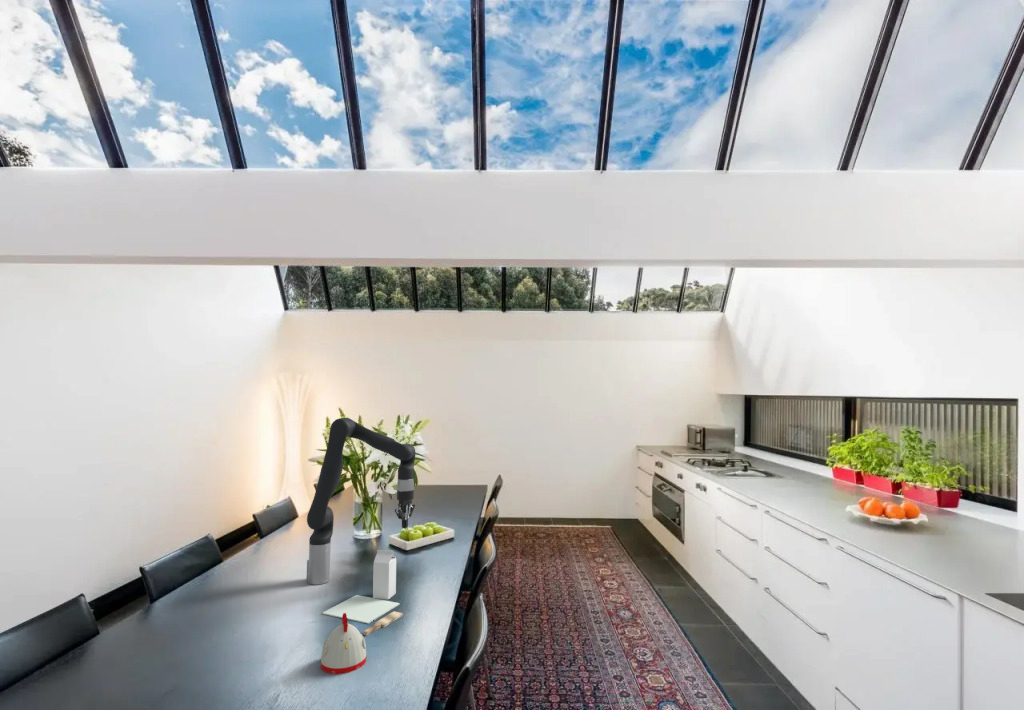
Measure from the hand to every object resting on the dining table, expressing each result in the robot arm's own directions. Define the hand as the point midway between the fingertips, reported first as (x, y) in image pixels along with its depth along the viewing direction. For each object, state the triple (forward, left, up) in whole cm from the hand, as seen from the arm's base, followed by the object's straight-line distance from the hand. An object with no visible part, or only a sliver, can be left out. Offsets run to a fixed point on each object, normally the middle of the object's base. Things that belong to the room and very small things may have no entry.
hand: (404, 527), depth 239 cm
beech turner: (+16, -36, -25) cm, 47 cm away
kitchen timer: (+22, -65, -25) cm, 73 cm away
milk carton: (0, -14, -25) cm, 29 cm away
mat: (0, -29, -25) cm, 38 cm away
